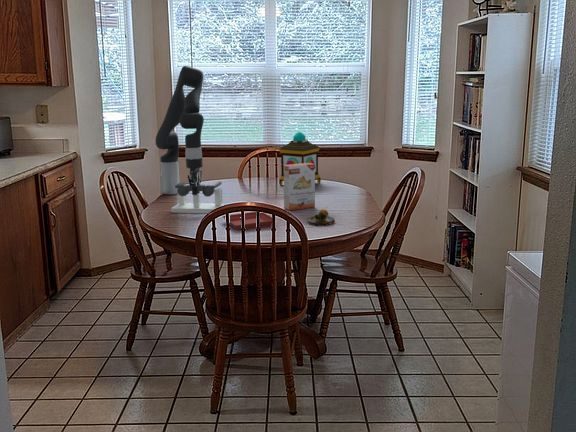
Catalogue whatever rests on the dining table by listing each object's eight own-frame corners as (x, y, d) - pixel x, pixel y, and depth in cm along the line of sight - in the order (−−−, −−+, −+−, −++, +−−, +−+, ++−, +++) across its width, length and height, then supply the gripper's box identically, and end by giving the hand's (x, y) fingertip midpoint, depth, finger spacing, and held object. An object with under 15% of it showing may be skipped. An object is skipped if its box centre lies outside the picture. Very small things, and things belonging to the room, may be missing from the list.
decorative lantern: (295, 180, 351) (295, 129, 344) (324, 183, 340) (323, 130, 333) (275, 185, 335) (274, 132, 328) (304, 189, 324) (303, 134, 317)
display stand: (171, 212, 275) (169, 191, 273) (180, 206, 287) (178, 186, 284) (218, 213, 271) (217, 192, 269) (225, 207, 283) (225, 187, 280)
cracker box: (289, 211, 273) (288, 166, 268) (283, 208, 278) (282, 164, 273) (315, 207, 279) (315, 163, 274) (309, 205, 284) (309, 162, 279)
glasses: (175, 196, 275) (174, 185, 273) (183, 191, 285) (182, 181, 284) (215, 196, 271) (214, 186, 270) (221, 192, 282) (221, 181, 281)
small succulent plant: (311, 218, 259) (310, 202, 257) (337, 220, 256) (337, 203, 254) (303, 225, 248) (303, 208, 246) (331, 227, 244) (331, 209, 243)
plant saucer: (235, 232, 239) (235, 224, 239) (222, 222, 256) (221, 215, 255) (276, 227, 246) (276, 219, 246) (261, 218, 263) (260, 210, 262)
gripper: (191, 155, 277) (193, 191, 282) (180, 159, 264) (183, 197, 268) (206, 155, 276) (208, 191, 280) (196, 159, 263) (199, 197, 267)
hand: (196, 193), depth 274 cm, fingers closed on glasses, 3 cm apart
